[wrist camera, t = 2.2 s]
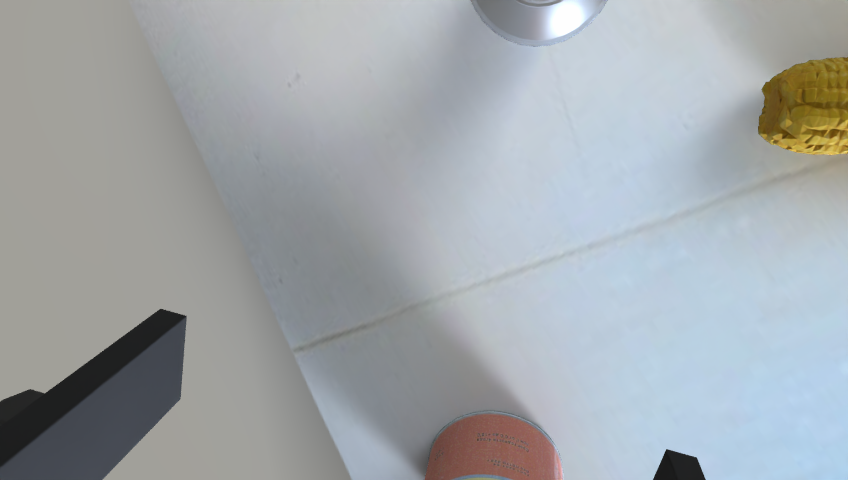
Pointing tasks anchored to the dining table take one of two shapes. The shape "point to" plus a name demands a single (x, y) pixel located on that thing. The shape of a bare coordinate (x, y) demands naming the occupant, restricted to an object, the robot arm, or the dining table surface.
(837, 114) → the food
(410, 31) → the dining table surface
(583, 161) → the dining table surface
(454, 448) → the canned food
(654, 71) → the dining table surface
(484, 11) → the silver aluminium bottle
